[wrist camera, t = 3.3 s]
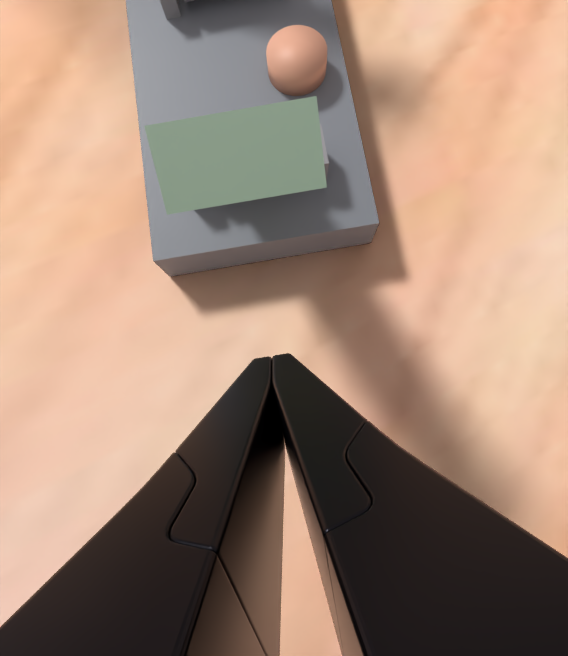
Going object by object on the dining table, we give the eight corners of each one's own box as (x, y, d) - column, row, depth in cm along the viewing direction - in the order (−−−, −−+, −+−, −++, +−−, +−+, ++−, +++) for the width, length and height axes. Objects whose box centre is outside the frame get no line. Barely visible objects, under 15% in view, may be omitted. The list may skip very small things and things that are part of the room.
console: (370, 242, 22) (386, 206, 18) (169, 276, 22) (139, 248, 18) (308, -56, 26) (309, -143, 22) (135, -25, 26) (104, -106, 22)
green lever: (300, 176, 20) (345, 189, 9) (213, 191, 21) (150, 222, 9) (294, 132, 20) (334, 86, 8) (203, 148, 20) (124, 123, 8)
